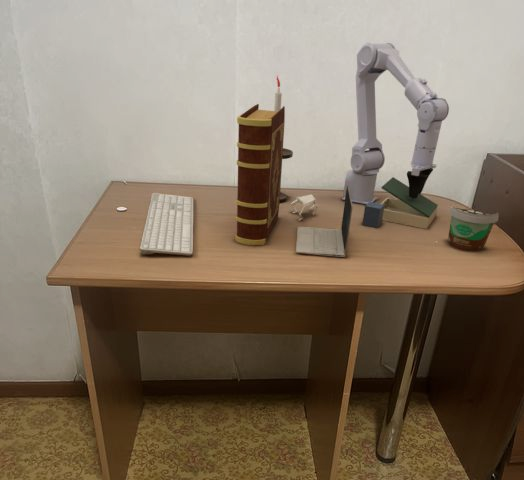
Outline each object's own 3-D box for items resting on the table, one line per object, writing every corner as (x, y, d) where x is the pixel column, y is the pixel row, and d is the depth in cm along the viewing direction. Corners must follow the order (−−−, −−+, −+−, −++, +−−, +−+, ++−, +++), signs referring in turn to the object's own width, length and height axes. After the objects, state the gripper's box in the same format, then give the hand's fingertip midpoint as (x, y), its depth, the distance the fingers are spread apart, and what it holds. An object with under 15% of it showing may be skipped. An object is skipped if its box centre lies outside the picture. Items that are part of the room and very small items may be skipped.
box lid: (381, 188, 149) (388, 175, 146) (392, 178, 158) (398, 166, 156) (428, 217, 147) (436, 206, 144) (437, 206, 156) (444, 195, 154)
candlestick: (248, 196, 166) (252, 74, 147) (273, 191, 173) (280, 72, 153) (271, 205, 160) (278, 78, 140) (296, 199, 166) (306, 77, 147)
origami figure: (289, 208, 158) (290, 192, 156) (316, 210, 158) (318, 194, 156) (289, 222, 148) (290, 205, 146) (318, 223, 148) (320, 206, 146)
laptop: (297, 228, 144) (301, 181, 137) (342, 232, 144) (348, 184, 136) (295, 254, 129) (299, 202, 122) (345, 258, 129) (353, 206, 121)
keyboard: (192, 257, 125) (192, 248, 123) (140, 257, 123) (139, 248, 122) (193, 199, 161) (193, 192, 160) (153, 199, 160) (152, 191, 158)
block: (362, 224, 149) (365, 205, 146) (366, 220, 153) (369, 201, 150) (377, 227, 148) (380, 208, 145) (381, 223, 151) (384, 204, 148)
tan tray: (374, 218, 154) (375, 208, 152) (385, 207, 163) (386, 197, 162) (426, 229, 149) (429, 218, 147) (434, 217, 158) (437, 206, 156)
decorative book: (263, 247, 132) (269, 120, 116) (233, 243, 133) (235, 117, 117) (279, 218, 151) (286, 105, 134) (252, 215, 152) (256, 103, 135)
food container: (437, 246, 138) (446, 209, 132) (442, 239, 142) (451, 203, 137) (486, 256, 133) (497, 219, 128) (489, 249, 138) (500, 212, 132)
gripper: (434, 153, 137) (423, 204, 145) (444, 144, 148) (433, 191, 156) (408, 149, 140) (398, 199, 147) (420, 140, 151) (410, 187, 158)
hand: (415, 195), depth 152 cm, fingers closed on box lid, 5 cm apart
